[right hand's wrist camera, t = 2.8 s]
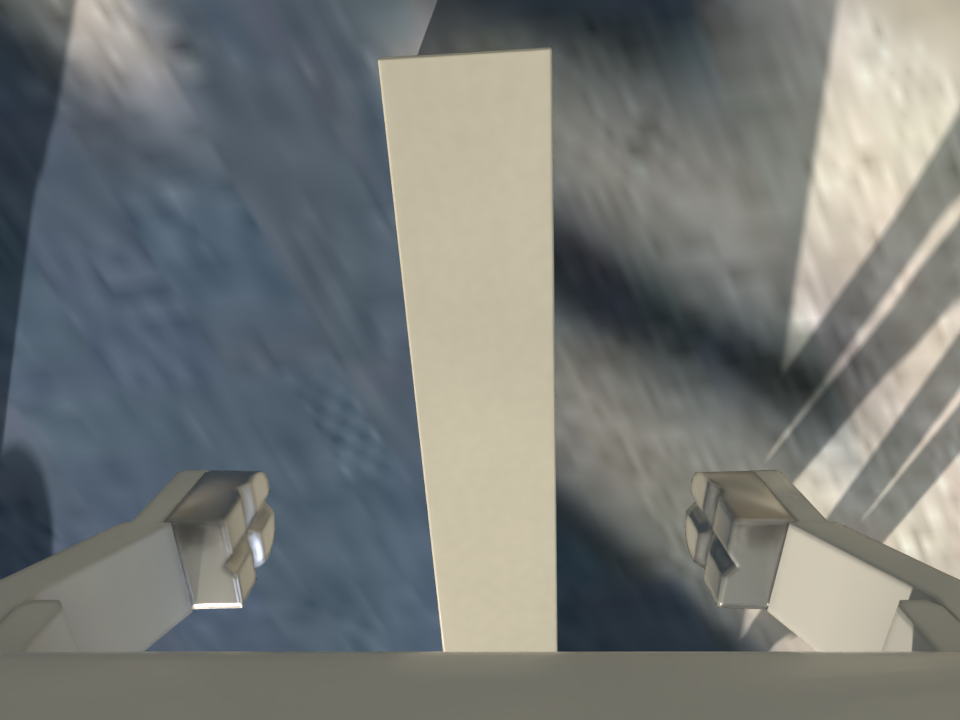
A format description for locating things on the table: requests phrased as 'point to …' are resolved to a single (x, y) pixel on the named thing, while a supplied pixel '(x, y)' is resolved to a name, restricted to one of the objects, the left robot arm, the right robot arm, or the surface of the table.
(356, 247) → the table surface
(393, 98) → the bar
